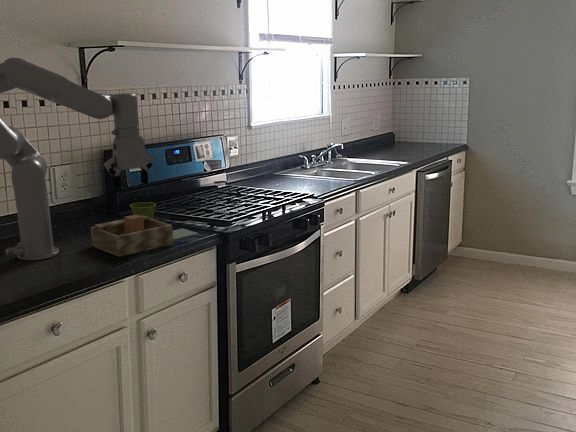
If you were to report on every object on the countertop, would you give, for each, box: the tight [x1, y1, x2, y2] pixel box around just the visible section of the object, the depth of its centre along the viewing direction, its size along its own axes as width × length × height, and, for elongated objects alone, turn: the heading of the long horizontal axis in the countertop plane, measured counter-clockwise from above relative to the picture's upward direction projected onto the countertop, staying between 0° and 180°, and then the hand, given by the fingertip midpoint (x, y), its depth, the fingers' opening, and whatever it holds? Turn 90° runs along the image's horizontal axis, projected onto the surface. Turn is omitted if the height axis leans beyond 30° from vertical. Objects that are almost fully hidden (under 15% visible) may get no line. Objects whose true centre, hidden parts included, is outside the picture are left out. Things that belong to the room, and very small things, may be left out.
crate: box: [90, 215, 174, 258], centre depth 217 cm, size 20×18×7 cm
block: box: [123, 214, 144, 234], centre depth 214 cm, size 4×4×6 cm
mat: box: [172, 228, 200, 241], centre depth 229 cm, size 10×10×1 cm
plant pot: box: [129, 201, 157, 220], centre depth 239 cm, size 9×9×9 cm
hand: (131, 185), depth 212 cm, fingers open, 9 cm apart
